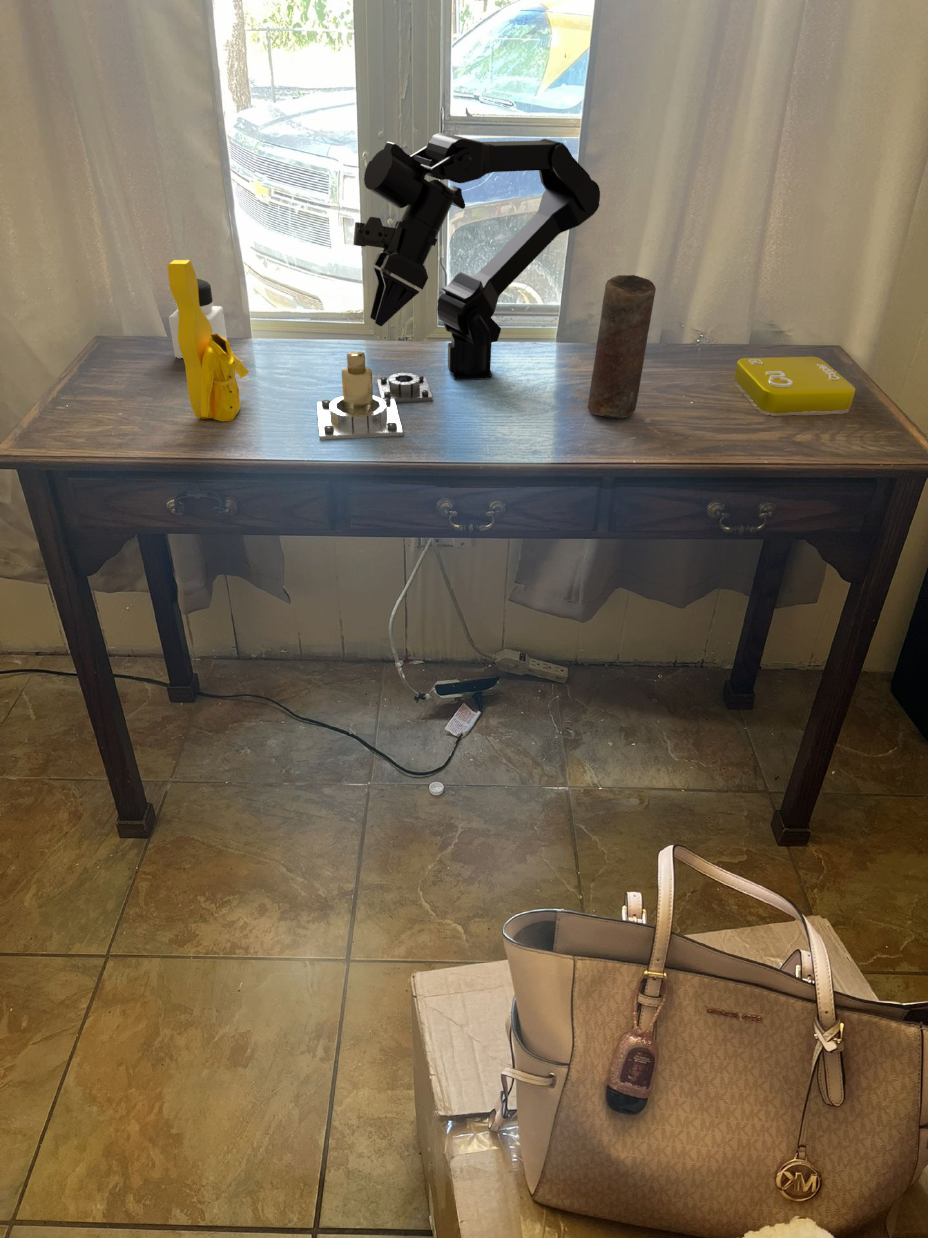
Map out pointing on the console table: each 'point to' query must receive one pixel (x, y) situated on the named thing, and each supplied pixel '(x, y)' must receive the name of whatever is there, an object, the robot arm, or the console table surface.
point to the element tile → (793, 384)
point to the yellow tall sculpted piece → (204, 351)
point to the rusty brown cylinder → (621, 346)
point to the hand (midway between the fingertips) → (375, 321)
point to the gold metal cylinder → (357, 385)
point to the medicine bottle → (210, 311)
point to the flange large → (358, 420)
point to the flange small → (404, 388)
